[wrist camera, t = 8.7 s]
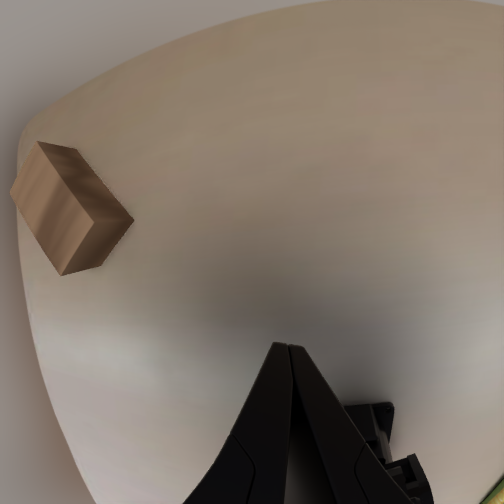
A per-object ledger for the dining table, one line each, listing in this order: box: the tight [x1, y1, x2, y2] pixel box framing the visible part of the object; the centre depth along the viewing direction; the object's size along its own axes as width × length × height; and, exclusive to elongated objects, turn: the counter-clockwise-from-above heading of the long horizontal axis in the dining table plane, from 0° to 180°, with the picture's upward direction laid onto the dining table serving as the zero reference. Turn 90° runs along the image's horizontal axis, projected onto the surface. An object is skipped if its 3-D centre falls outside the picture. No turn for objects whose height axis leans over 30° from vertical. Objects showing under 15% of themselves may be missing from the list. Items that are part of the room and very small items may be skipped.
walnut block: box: [10, 141, 134, 276], centre depth 21 cm, size 5×5×9 cm
